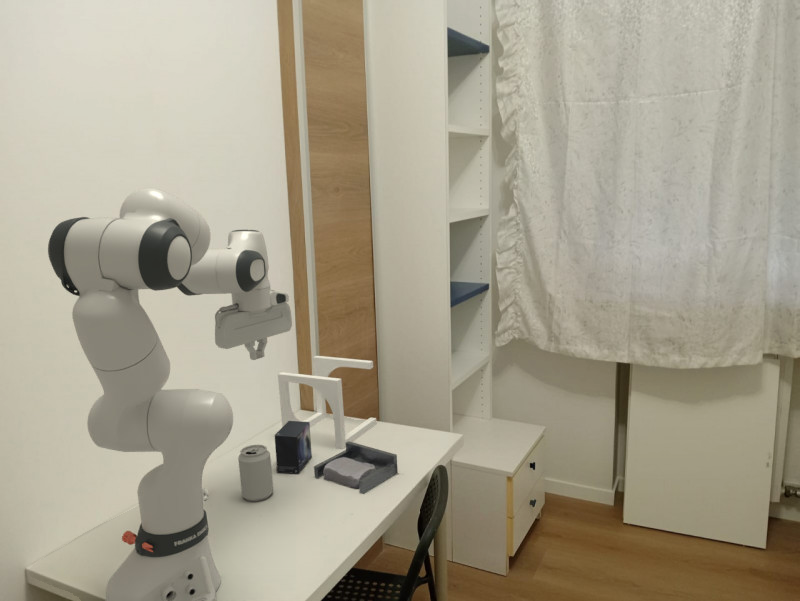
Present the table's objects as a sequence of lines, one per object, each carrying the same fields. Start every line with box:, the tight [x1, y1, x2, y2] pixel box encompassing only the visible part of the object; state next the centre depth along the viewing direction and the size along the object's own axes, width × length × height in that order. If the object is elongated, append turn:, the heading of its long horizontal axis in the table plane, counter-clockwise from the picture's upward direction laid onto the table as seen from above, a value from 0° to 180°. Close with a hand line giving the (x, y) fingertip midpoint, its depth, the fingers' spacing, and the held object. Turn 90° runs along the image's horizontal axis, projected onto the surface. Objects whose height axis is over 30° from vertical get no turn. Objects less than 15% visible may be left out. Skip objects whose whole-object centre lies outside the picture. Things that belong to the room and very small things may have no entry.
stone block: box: [323, 457, 377, 489], centre depth 172 cm, size 12×5×10 cm
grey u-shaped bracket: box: [313, 441, 398, 494], centre depth 172 cm, size 13×16×5 cm
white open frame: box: [277, 355, 377, 450], centre depth 200 cm, size 20×20×20 cm
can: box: [237, 444, 274, 502], centre depth 163 cm, size 8×8×12 cm
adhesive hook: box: [202, 488, 209, 502], centre depth 164 cm, size 3×3×3 cm
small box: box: [274, 421, 313, 475], centre depth 180 cm, size 11×6×10 cm, turn 168°
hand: (257, 358), depth 158 cm, fingers closed
